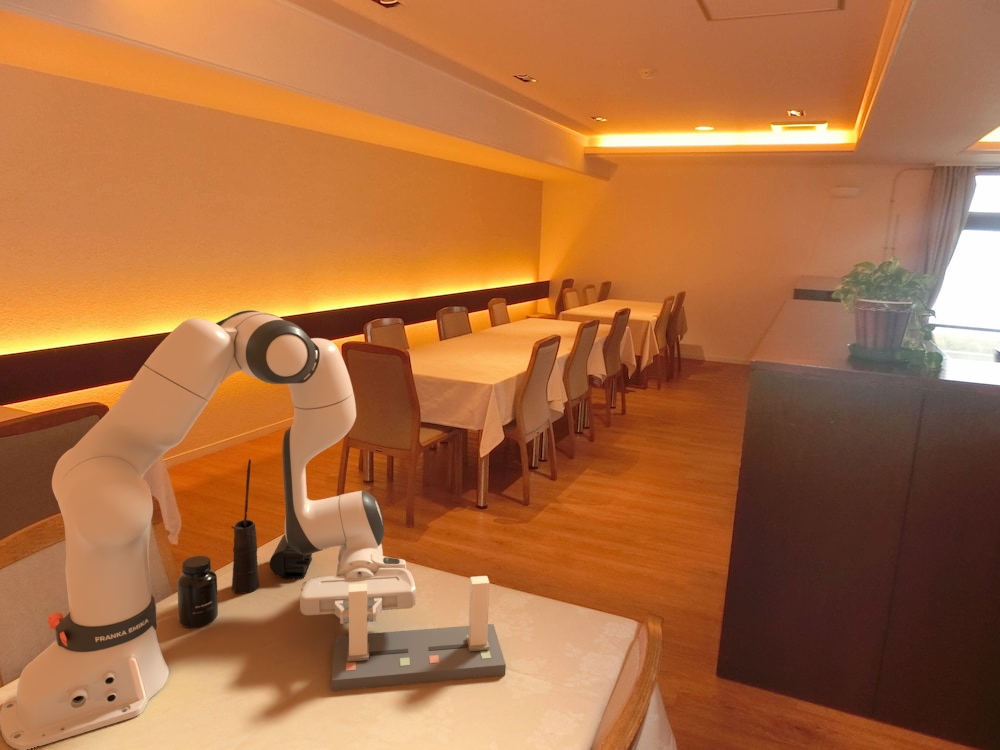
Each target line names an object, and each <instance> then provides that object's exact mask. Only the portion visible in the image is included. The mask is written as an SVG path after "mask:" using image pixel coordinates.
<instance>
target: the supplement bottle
mask: <svg viewBox="0 0 1000 750" xmlns="http://www.w3.org/2000/svg"><path fill="white" fill-rule="evenodd" d="M181 565H182V566H181V567H182V569H181V575H180V576H179V577H178V579H177V583H176V587H177V590H176V591H177V607H178V608H177V609H178V611H177V612H178V620H179V621H178V622H179V624H180V625H181V626H183V627H184V628H187V629H188V628H189V629H197V628H198V629H199V628H202V627H206V626H208V625H210V624H211V623H214V621H216V619H217V617H218V616H219V615H218V614H219V599H218V576H217V574H216V572H215V571H214V570H212V564H211V558H210V557H209V556H206V555H194V556H191V557H188V558H186V559H184V560H183V562H182V564H181Z"/></svg>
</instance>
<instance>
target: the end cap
mask: <svg viewBox="0 0 1000 750" xmlns="http://www.w3.org/2000/svg"><path fill="white" fill-rule="evenodd" d="M312 555H313V553H312V554H309V555H303V554H300V553H298V552H296V551H295V550H293V549H292V548H290V547H289V545H288V543H287V540H286V537H285V534H283V536H282V537H281V538H280V540H279V543H278V544H277V546H276V548H275V550H274V551H273V553H272V555H271V558H270V560H269V569H270V571H271V572H272V573H273V574H274V575H276V576H278V577H279V578H281V579H284V580H302V578H303V579H304V577H306V576H307V573H308V571H309V567H310V566H309V565H311V562H312V559H313V557H312ZM307 570H308V571H307ZM293 578H294V579H293ZM298 578H299V579H298ZM300 578H301V579H300Z"/></svg>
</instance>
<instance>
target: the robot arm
mask: <svg viewBox="0 0 1000 750" xmlns="http://www.w3.org/2000/svg"><path fill="white" fill-rule="evenodd" d="M237 372H242V373H243V374H245V375H247V376H248V377H249V376H250V378H254V379H257V380H260V381H262V382H263V383H265V384H266V383H267V384H272V385H287V387H288V389H289V392H290V398H291V402H292V407H293V414H294V415H293V421H292V424H291V426H290V427H289V428H287V429H286V430H285V431H284V434H283V437H282V446H281V447H282V449H281V451H282V453H281V455H282V477H283V491H284V493H283V494H284V502H285V505H284V507H285V517H284V518H285V520H284V535H285V537H286V540H287V543H288V545H289V547H290V548H292V549H293V550H295V551H296V552H298V553H300V554H303V555H309V554H312V555H313V554H314V553H315V554H316V553H318V552H320V551H323V550H325V549H326V550H327V549H330V548H335V547H339V551H338V557H337V559H338V561H337V562H338V563H337V568H336V575H329V576H328V575H327V576H326V575H325V576H316V577H312V578H310V579H308V580H307V581H304V582H303V583H302V585H301V588H300V590H301V592H300V596H299V611H300V614H303V615H304V616H318V615H320V616H321V615H332V614H333V615H335V616H336V617H337V618H338V619H340V620H339V621H340V622H339V623H340V624H341V625H344V624H349V585H350V584H366V583H367V623H369V622H371V623H372V622H376V621H377V620H376V619H377V617H378V616H379V614H381V613H382V612H383V611H389V610H392V611H393V610H405V609H411V608H412V609H413V607H415V605H416V603H417V601H416V600H417V587H416V584H415V580H414V577H413V575H412V572H411V571H410V570H408V569H407V562H406V560H405V559H402V558H395V557H394V558H393V557H390V556H389V557H388V556H384V552H383V551H384V550H383V545H382V542H383V540H384V538H385V522H384V517H383V512H382V508H381V505H380V503H379V500H378V499H377V498H375V496H373V495H372V494H371V493H370V492H368V491H365V490H363V489H362V490H359V491H353V492H348V493H343V494H340V495H336V496H330V497H327V498H322V499H316V500H315V499H314V500H312V499H309V498H308V492H307V491H308V490H307V475H306V472H307V471H306V466H307V464H308V463H309V462H310V461H311V460H312V459H313V458H315V457H316V456H317V455H319V454H320V453H322V452H323V451H325V450H327V449H328V448H330V447H332V446H333V445H335V444H337V443H338V442H340V441H341V440H342V439H343V438H344V437H345V436H347V434H348V433H349V432H350V430H351V429H352V427H354V424H355V422H356V419H357V408H356V407H357V405H356V400H355V399H356V398H355V393H354V390H353V384H352V381H351V377H350V374H349V371H348V367H347V366H346V364H345V361H344V358H343V356H342V354H341V351H340V350H339V347H338V346H337V345H336V344H335V343H334V342H333V341H331V340H329V339H327V338H321V337H313V338H310V337H309V336H308V334H307V333H306V332H305V331H304V330H303V329H302V328H301V327H300V326H298V325H297V324H295V323H294V322H292V321H288V320H284V319H283V318H281V317H279V316H278V315H275V314H272V313H268V312H262V311H257V310H252V309H250V310H242V311H239V312H236V313H233V314H231V315H229V316H228V317H226V318H224V319H222V320H219V321H217V322H213V321H211V320H208V319H204V318H190V319H186V320H183V322H180V324H179V325H178V326H176V328H174V329H173V330H172V331H171V332H170V333H169V334H168V335H167V336H166V337H165V338H164V339H163V340H162V341H161V342H160V344H158V345H157V347H156V348H155V349H154V351H153V352H152V353H151V354H150V355H149V357H148V358H147V359H146V361H145V362H144V363H143V365H141V367H140V368H139V370H138V371H137V373H136V374H135V376H134V377H133V379H131V381H130V383H129V384H128V385H127V387H125V389H124V391H123V392H122V393H121V395H120V396H119V397H118V399H117V401H115V403H114V404H113V406H112V407H111V408H110V409H109V410H108V411H107V412H106V413H105V415H104V416H102V418H101V419H100V420H99V421H97V423H96V424H94V425H93V426H92V427H91V428H90V429H89V430H88V432H86V434H85V435H83V437H82V438H80V440H79V441H78V442H77V443H76V444H75V445H74V446H73V447H72V448H71V447H70V449H68V450H67V451H65V452H64V453H63V454H62V455H61V457H60V458H58V460H57V462H56V464H55V468H54V470H53V473H52V477H51V488H52V492H53V494H54V497H55V499H56V501H57V503H58V508H59V510H60V512H61V513H60V514H61V517H62V520H63V525H64V534H65V535H64V536H65V567H64V571H65V572H64V573H65V581H66V589H67V597H68V599H67V601H68V606H69V612H68V613H67V614H66V615H65V616H64V615H63V613H61V612H59V611H58V612H54V613H52V614H50V615H49V617H48V618H47V623H48V625H49V628H50V629H51V630H53V631H54V630H55V631H54V632H55V633H54V634H55V640H54V641H53V642H52V643H51V644H50V645H49V646H48V647H46V648H45V649H44V650H43V651H42V652H41V653H40V654H38V655H37V656H36V657H35V658H34V659H32V660H31V661H30V662H29V663H28V664H27V665H26V666H25V667H24V668H23V670H22V671H21V672H20V673H21V674H20V676H19V679H18V681H17V682H18V683H17V686H16V691H15V692H13V693H12V694H10V695H9V696H8V697H7V698H6V700H5V701H4V702H3V704H2V706H1V708H0V733H1V737H2V738H3V740H4V741H5V743H6V744H7V745H8V746H10V747H11V748H13V749H16V750H27V749H28V750H32V749H35V748H38V747H37V746H39V747H41V746H44V745H48V744H51V743H54V742H57V741H61V740H63V739H64V740H65V739H67V738H71V737H74V736H77V735H80V734H84V733H87V732H89V731H93V730H96V729H99V728H103V727H106V726H109V725H113V724H116V723H118V722H119V723H120V722H122V721H126V720H129V719H132V718H135V717H137V716H139V715H140V714H141V713H142V712H143V711H144V709H145V707H146V706H147V704H148V702H149V701H150V699H152V698H153V697H154V696H155V695H157V693H158V692H159V691H160V690H161V689H162V687H164V685H165V684H166V682H167V680H168V679H169V678H168V677H169V675H170V670H169V667H168V665H167V663H166V661H165V658H164V656H163V653H162V651H161V648H160V647H161V646H160V644H159V640H158V635H157V628H158V625H157V623H158V612H157V602H156V600H155V596H153V594H152V589H151V588H152V586H151V577H150V576H151V575H150V574H151V573H150V562H149V547H150V546H149V545H150V538H151V537H150V536H151V529H152V528H151V527H152V525H151V524H152V519H153V513H154V504H153V497H152V495H153V494H152V491H151V488H150V486H149V483H147V481H146V480H145V479H144V476H145V475H146V473H147V471H148V470H150V468H151V467H152V466H153V465H154V464H155V463H156V462H157V461H158V460H159V459H161V457H162V456H163V455H165V454H166V453H167V452H169V450H171V449H173V448H175V447H177V446H178V445H179V444H180V443H182V442H183V440H184V439H185V438H186V436H187V435H188V433H189V432H190V431H191V429H192V427H193V425H194V424H195V423H196V421H197V420H198V419H199V417H200V416H201V414H202V412H203V411H204V410H205V408H206V407H207V405H208V404H209V402H210V401H211V399H212V398H213V396H214V395H215V393H216V392H217V390H218V388H219V387H220V385H221V384H222V383H223V382H224V381H225V380H226V379H228V378H229V377H230V376H231V375H233V374H235V373H237ZM34 747H35V748H34ZM31 748H32V749H31Z"/></svg>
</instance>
